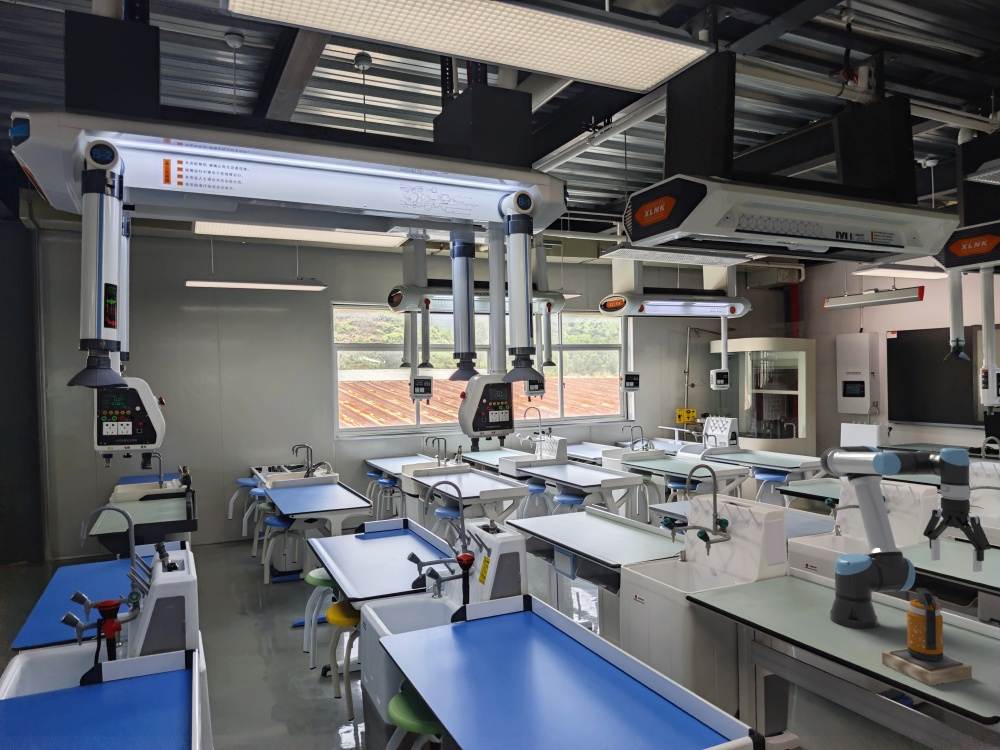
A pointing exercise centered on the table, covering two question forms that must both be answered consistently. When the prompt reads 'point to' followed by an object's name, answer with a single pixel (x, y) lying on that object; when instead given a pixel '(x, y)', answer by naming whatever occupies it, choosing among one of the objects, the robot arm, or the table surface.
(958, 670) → the plinth
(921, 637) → the canister
